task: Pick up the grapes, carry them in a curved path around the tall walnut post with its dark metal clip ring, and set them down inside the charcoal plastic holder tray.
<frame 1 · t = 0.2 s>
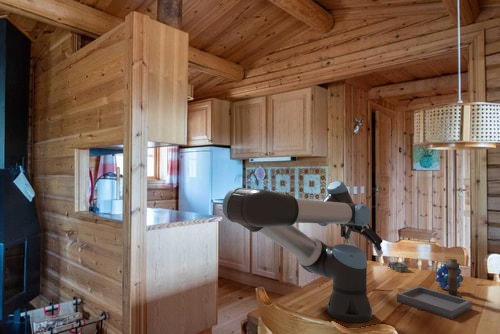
hand: (367, 251, 144), 16 cm above the table, tool tilted 35°, fingers open, 13 cm apart
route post: (453, 298, 132), on the table
egg carton: (397, 270, 174), on the table
grapes: (450, 290, 141), on the table
holder tray: (433, 305, 125), on the table
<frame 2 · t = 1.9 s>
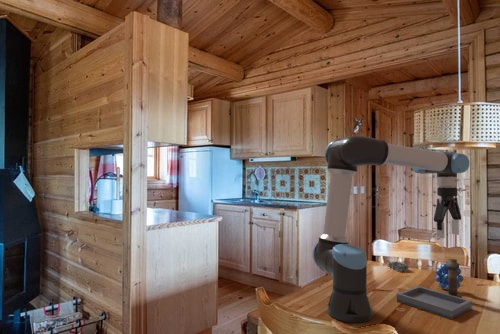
hand: (448, 236, 142), 23 cm above the table, tool pointing down, fingers open, 13 cm apart
nothing on the table moved.
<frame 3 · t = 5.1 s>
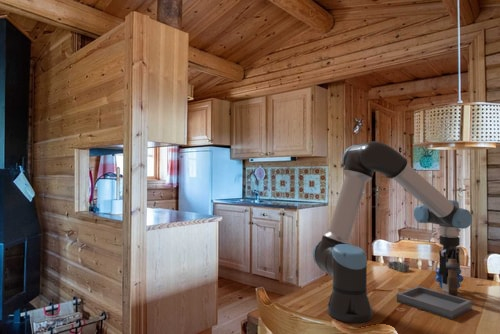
hand: (450, 289, 141), 0 cm above the table, tool pointing down, fingers closed on grapes, 7 cm apart
grapes: (450, 290, 141), on the table, touching gripper
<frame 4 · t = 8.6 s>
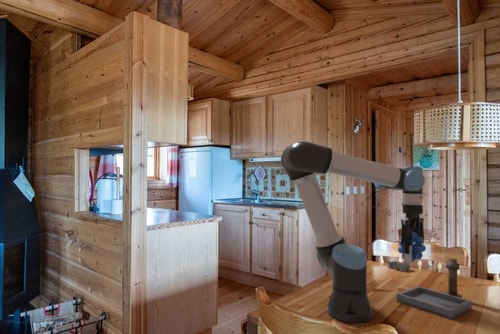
hand: (412, 260, 134), 15 cm above the table, tool pointing down, fingers closed on grapes, 7 cm apart
grapes: (412, 261, 134), point 14 cm above the table, touching gripper
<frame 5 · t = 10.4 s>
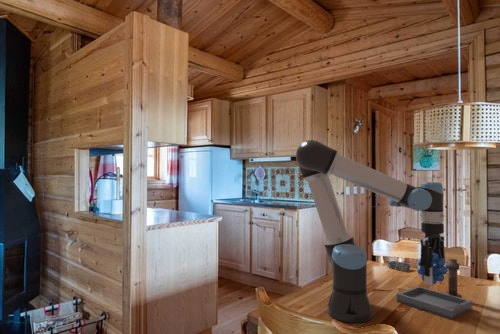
hand: (433, 282, 125), 8 cm above the table, tool pointing down, fingers closed on grapes, 7 cm apart
grapes: (433, 284, 125), point 8 cm above the table, touching gripper
when the fingers open (4 cm above the table, at t = 12.0 s): grapes drops 2 cm, resting on holder tray.
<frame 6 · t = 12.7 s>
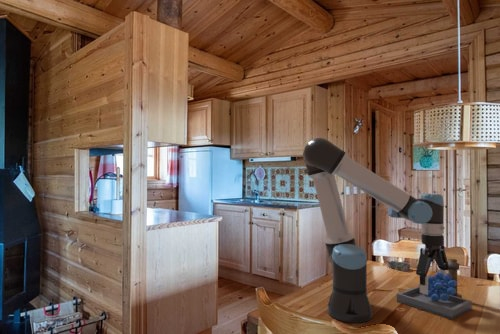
hand: (433, 290, 125), 6 cm above the table, tool pointing down, fingers open, 13 cm apart
grapes: (433, 302, 125), point 1 cm above the table, touching gripper, holder tray
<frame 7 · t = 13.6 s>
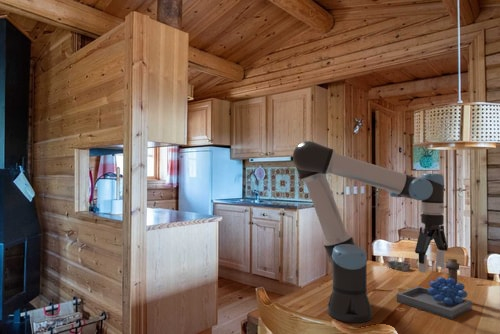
hand: (431, 269, 125), 13 cm above the table, tool pointing down, fingers open, 13 cm apart
grapes: (433, 300, 125), point 2 cm above the table, touching holder tray
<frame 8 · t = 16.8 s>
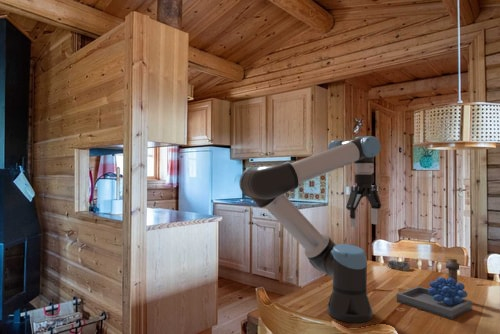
hand: (364, 225, 135), 29 cm above the table, tool pointing down, fingers open, 13 cm apart
at the end: grapes inside the target area on the holder tray (0.3 cm from its centre), point 1.7 cm above the holder tray's base; the gripper is holding nothing; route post moved 0.0 cm from its start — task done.
